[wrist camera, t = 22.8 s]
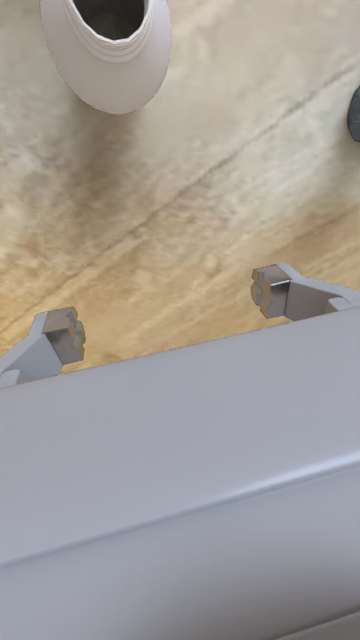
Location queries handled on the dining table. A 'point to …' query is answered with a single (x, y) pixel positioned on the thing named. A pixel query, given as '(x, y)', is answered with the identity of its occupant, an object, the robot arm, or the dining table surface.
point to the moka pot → (355, 116)
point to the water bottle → (109, 49)
